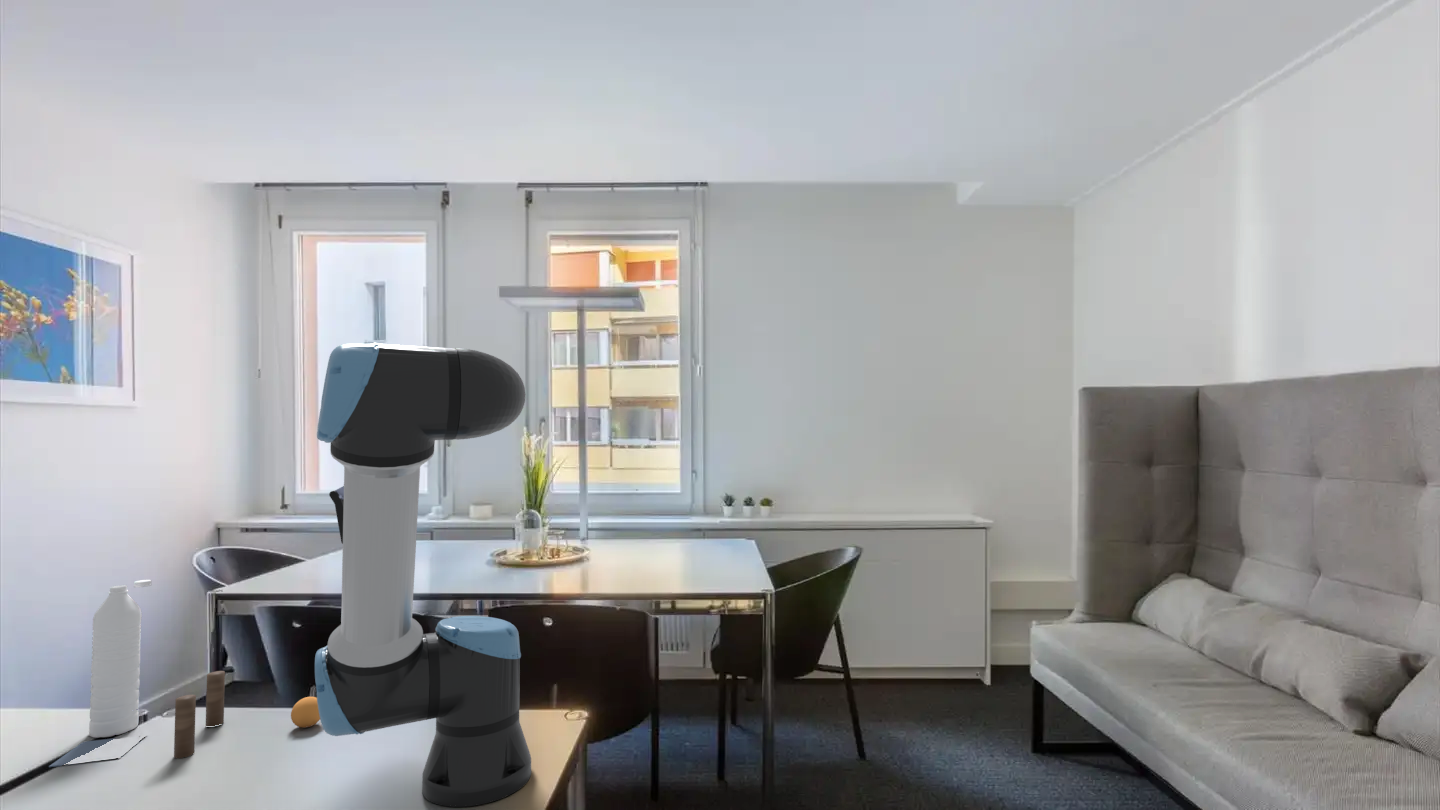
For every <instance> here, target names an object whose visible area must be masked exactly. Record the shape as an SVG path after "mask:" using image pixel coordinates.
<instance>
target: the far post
mask: <svg viewBox="0 0 1440 810" xmlns="http://www.w3.org/2000/svg"><path fill="white" fill-rule="evenodd" d="M225 679H226V672H225V670H216V671H212V672H209V673H207V674H206V693H205V694H206V696H205V700H206V701H205V727H206V726H215V725H219V724H222V723H224V721H225V684H226V683H225V681H226V680H225Z"/></svg>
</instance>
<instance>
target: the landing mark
mask: <svg viewBox="0 0 1440 810" xmlns="http://www.w3.org/2000/svg"><path fill="white" fill-rule="evenodd" d="M115 738H116V737H115ZM115 738H107V739H106V738H105V739H96V740H87V741H82V742H81V743H79V744H78V745H77V746H75V747H74V748H72V749H71V750H69V751H68V752H67V753H65V754H64V755H62V756H60V758H59V759H58V758H57V760H55V761H54V762H53V763H51V764H50V765H48V768H55V767H63V766H62V765H64V764H66V763H68V762H70V761H71V760H73V759H75V758H77V757H80V756H81V755H85V754H86V753H89V752H90V751H92V750H94V749H95V748H98V747H100V746H102V745H104V744H106V743H107V742H109V741H111V740H113V739H115Z"/></svg>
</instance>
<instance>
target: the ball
mask: <svg viewBox="0 0 1440 810" xmlns="http://www.w3.org/2000/svg"><path fill="white" fill-rule="evenodd" d="M290 719H291V721H292V723H293V724H294V725H295V726H297V727H298V728H303V729H304V728H310V727H313V726H314V725H315V724H317V723H318V722H319V721H321V720H320V715H319V710H318V703H317V696H307V697H306V696H305V697H303V698H301V699H299V700H298V701H297V702H296V703H295V704H294V705H293V706H292V709H291V711H290Z"/></svg>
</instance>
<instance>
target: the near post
mask: <svg viewBox="0 0 1440 810" xmlns="http://www.w3.org/2000/svg"><path fill="white" fill-rule="evenodd" d="M196 699H197V695H196V694H186V695H181V696H179V697H177V698H176V697H175V704H174V705H175V706H174V707H175V710H174V736H173V737H174V741H173V742H174V743H173V758H174V757H175V758H174V759H184V758H183V757H185V758H188V757H191V756H193V755H194V754H195V749H196V748H195V744H196V743H195V741H196V736H195V735H196V702H197V700H196ZM193 753H194V754H193ZM190 755H191V756H190Z"/></svg>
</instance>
